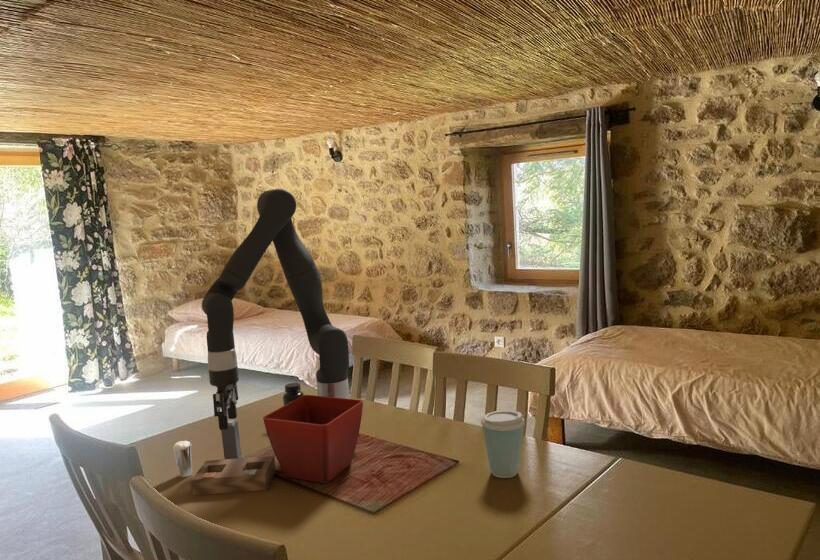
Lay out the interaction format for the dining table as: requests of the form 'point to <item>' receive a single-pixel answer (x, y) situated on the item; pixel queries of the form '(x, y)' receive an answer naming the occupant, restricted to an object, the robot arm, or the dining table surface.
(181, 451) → the milkshake
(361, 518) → the dining table surface
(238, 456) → the plug
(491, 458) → the disposable coffee cup
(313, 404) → the plant pot
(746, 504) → the dining table surface
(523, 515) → the dining table surface
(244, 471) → the port deck
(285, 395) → the supplement bottle
